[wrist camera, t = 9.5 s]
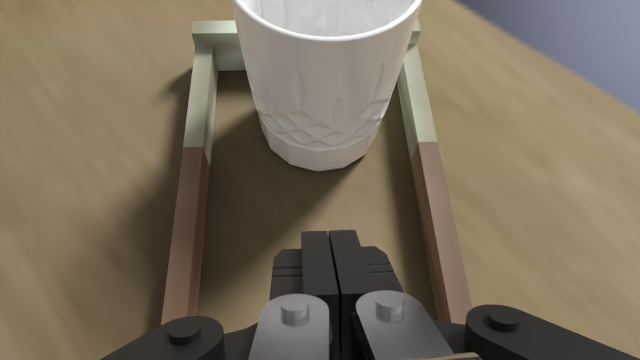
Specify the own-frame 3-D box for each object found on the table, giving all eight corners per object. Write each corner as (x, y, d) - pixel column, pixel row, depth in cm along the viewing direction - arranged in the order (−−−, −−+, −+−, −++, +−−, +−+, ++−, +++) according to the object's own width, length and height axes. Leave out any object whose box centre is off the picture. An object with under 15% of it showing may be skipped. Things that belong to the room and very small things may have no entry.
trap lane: (152, 522, 17) (125, 537, 14) (203, 59, 29) (193, 21, 26) (493, 501, 18) (526, 512, 15) (407, 56, 29) (417, 18, 27)
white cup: (231, 161, 25) (191, 13, 16) (276, 60, 29) (264, -104, 20) (371, 197, 24) (408, 61, 15) (399, 88, 28) (441, -71, 19)
